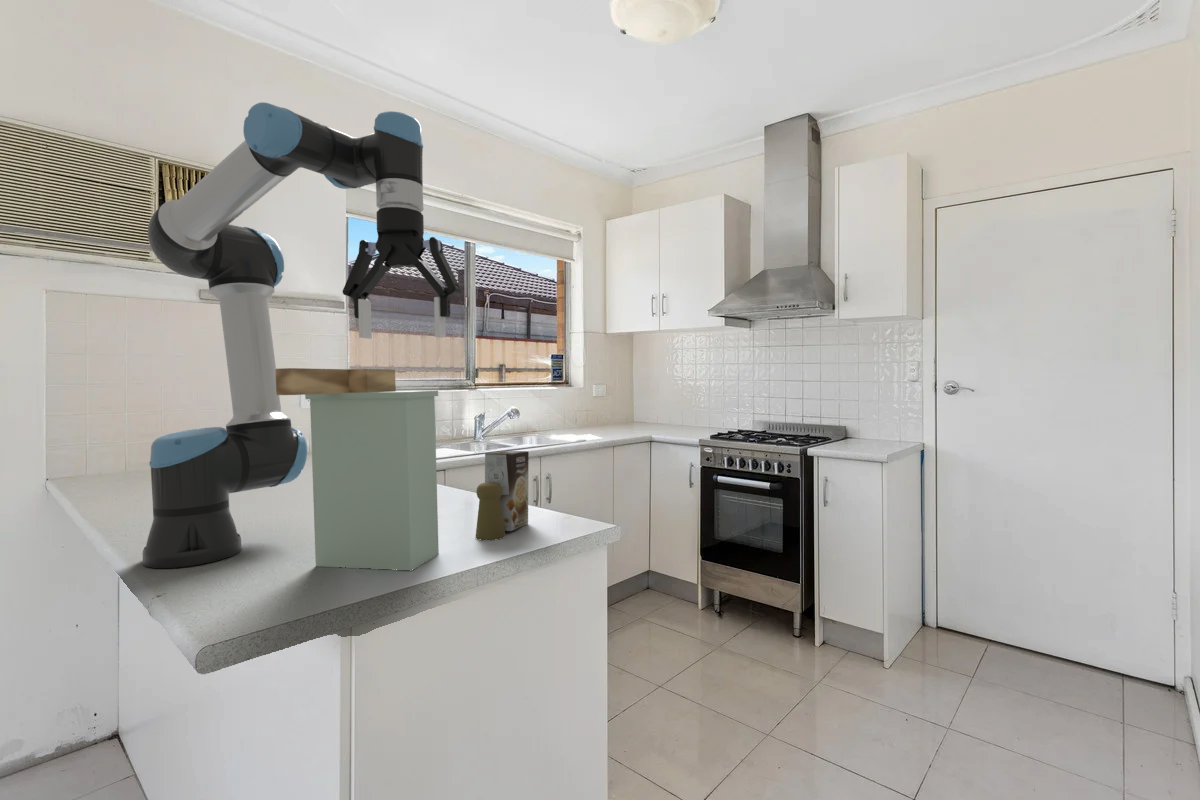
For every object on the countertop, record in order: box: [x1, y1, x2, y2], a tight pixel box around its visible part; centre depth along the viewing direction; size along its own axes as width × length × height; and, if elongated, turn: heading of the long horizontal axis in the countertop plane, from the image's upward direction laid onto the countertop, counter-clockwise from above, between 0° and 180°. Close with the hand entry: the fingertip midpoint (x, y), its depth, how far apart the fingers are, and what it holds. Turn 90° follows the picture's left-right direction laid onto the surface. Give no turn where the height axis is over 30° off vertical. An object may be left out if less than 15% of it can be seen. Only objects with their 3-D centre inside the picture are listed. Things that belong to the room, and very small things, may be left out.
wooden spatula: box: [275, 367, 397, 396], centre depth 100 cm, size 10×22×4 cm, turn 169°
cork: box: [475, 482, 506, 541], centre depth 120 cm, size 6×6×11 cm
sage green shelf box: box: [304, 390, 440, 571], centre depth 105 cm, size 19×11×30 cm, turn 79°
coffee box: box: [484, 450, 530, 532], centre depth 127 cm, size 9×6×16 cm
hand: (402, 337), depth 101 cm, fingers open, 13 cm apart
